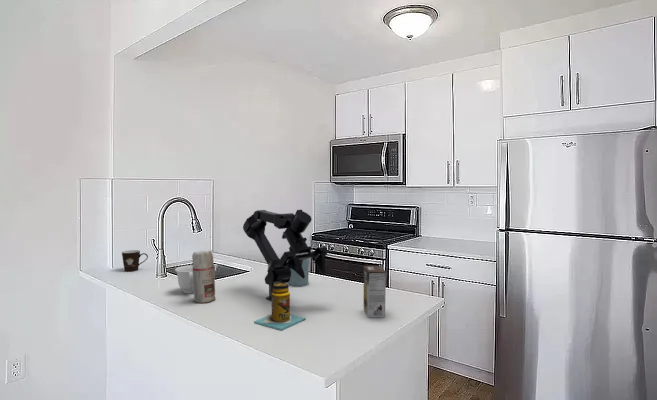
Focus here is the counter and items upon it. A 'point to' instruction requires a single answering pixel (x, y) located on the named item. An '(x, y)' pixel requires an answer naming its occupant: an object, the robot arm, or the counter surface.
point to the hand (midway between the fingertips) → (314, 275)
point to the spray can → (203, 276)
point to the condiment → (280, 304)
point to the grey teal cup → (297, 279)
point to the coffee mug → (132, 260)
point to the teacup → (185, 278)
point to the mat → (280, 325)
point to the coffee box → (374, 291)
